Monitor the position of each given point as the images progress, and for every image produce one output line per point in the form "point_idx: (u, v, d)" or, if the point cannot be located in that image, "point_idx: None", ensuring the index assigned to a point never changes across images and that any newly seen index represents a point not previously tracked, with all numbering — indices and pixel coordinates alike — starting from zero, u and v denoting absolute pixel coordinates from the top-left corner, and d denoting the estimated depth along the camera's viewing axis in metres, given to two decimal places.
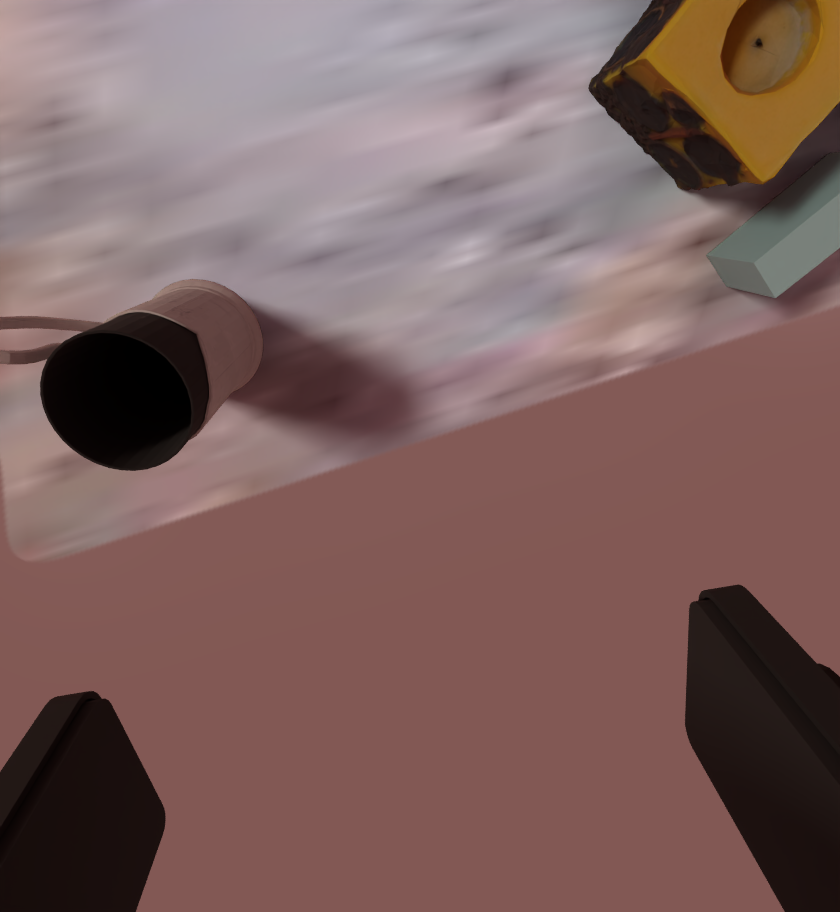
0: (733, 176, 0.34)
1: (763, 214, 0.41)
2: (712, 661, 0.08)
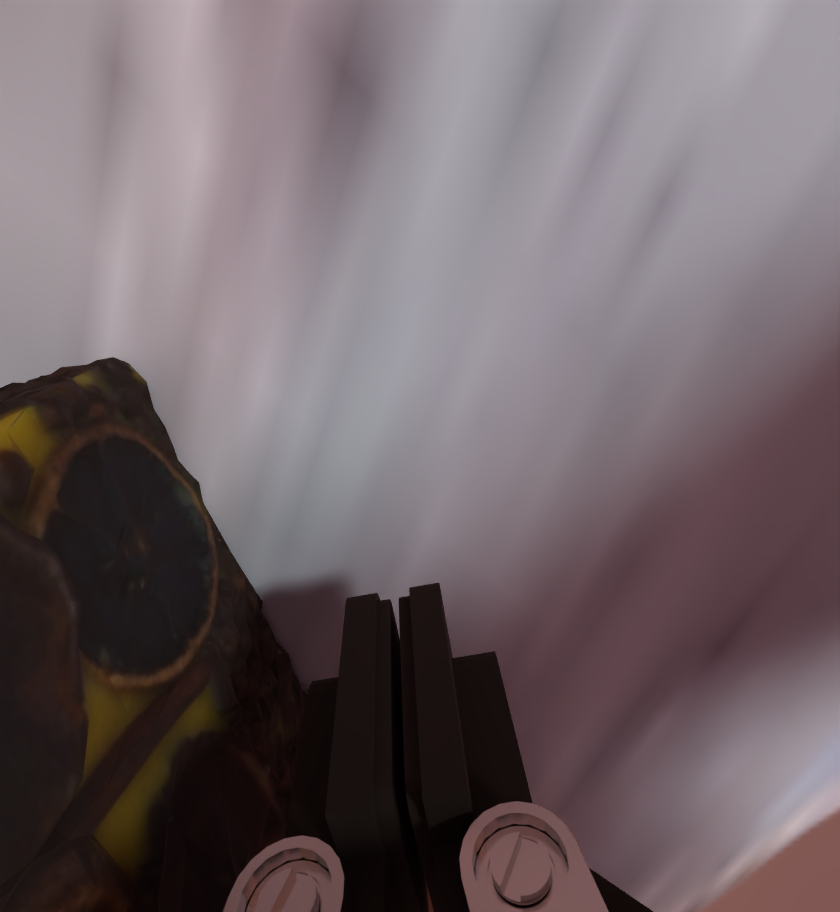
0: None
1: None
2: None
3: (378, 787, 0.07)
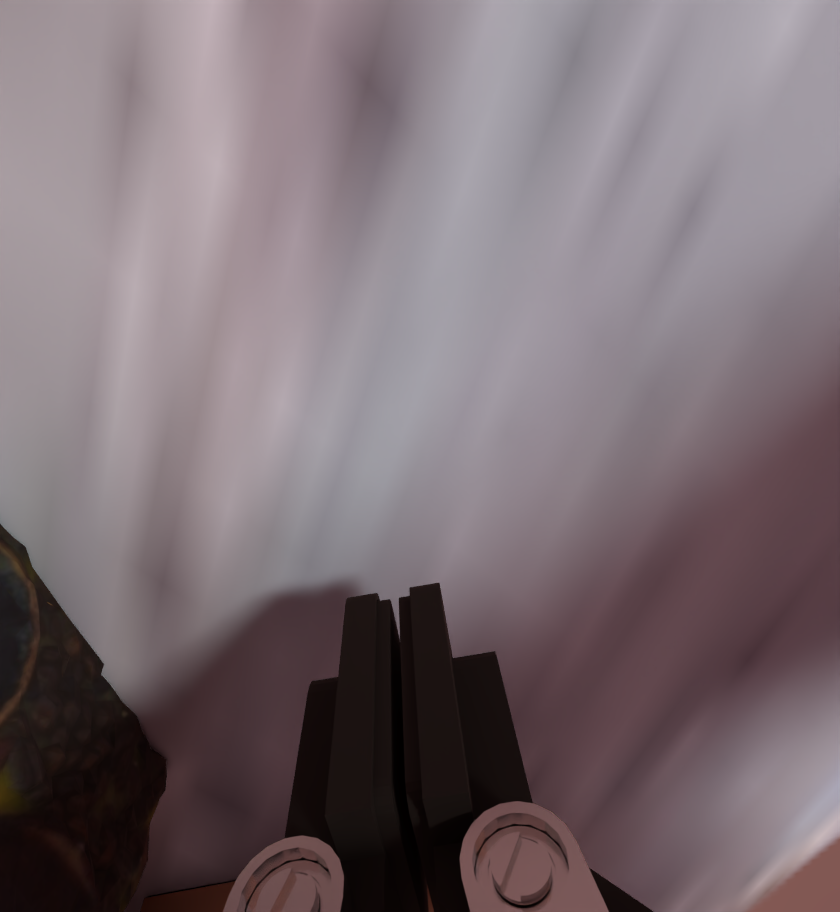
0: None
1: None
2: None
3: (378, 786, 0.07)
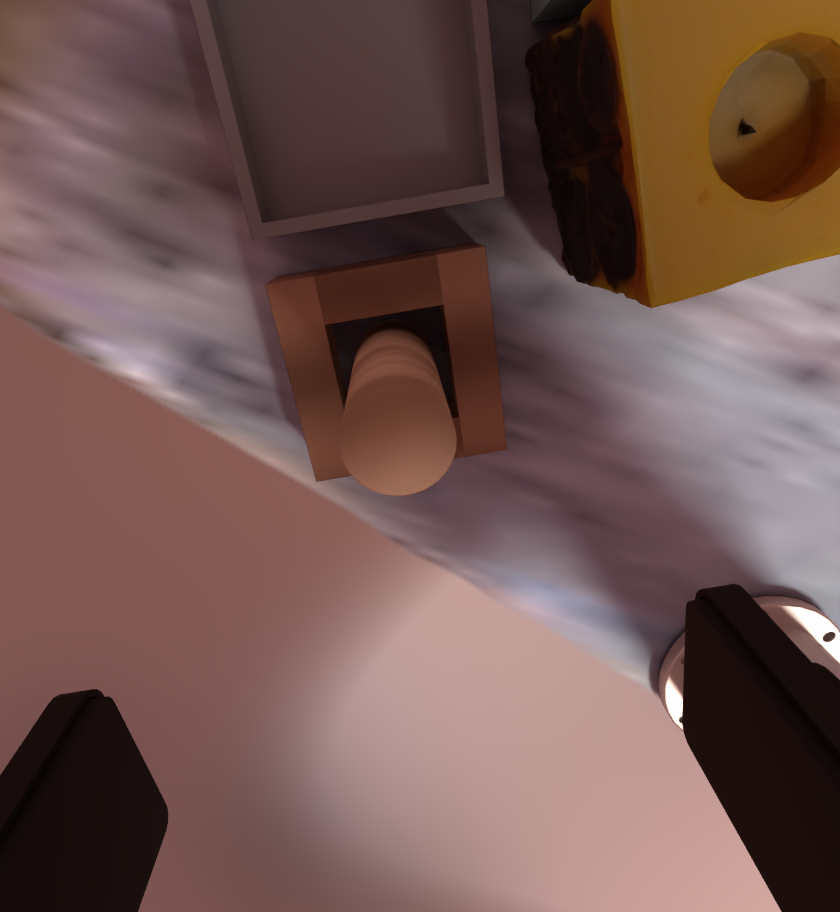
0: None
1: None
2: (708, 659, 0.08)
3: None
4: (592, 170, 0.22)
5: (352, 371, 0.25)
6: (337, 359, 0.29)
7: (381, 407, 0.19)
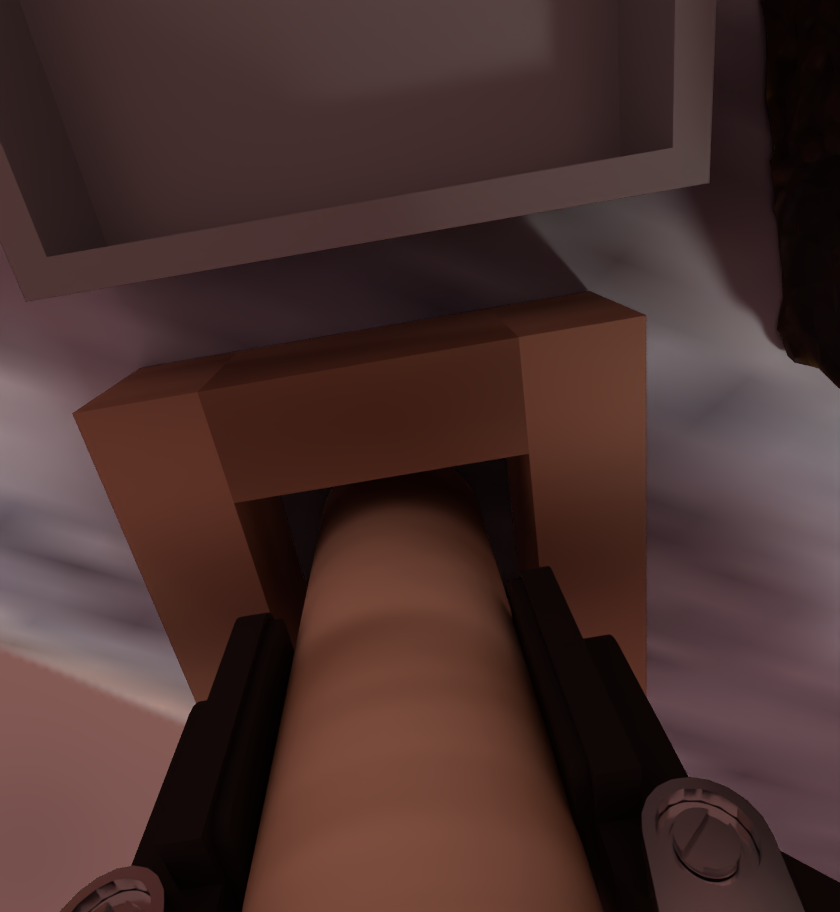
0: None
1: None
2: (519, 632, 0.09)
3: (216, 815, 0.07)
4: None
5: (294, 655, 0.09)
6: (280, 543, 0.14)
7: None
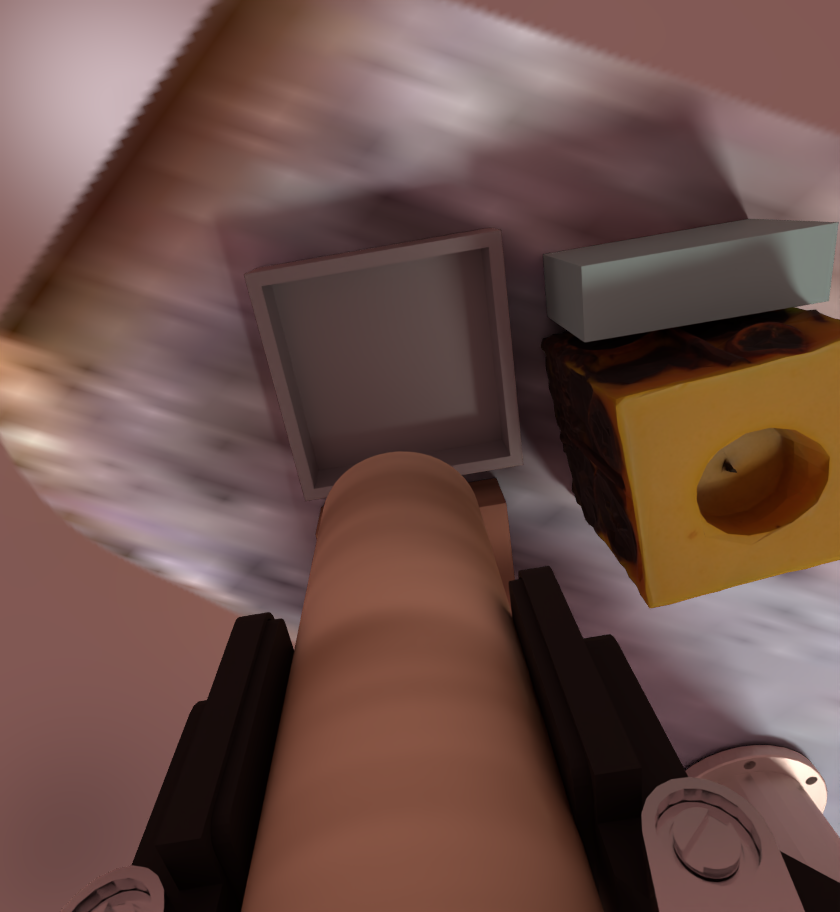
0: None
1: None
2: (519, 632, 0.09)
3: (217, 815, 0.07)
4: (600, 475, 0.26)
5: (294, 655, 0.09)
6: None
7: None
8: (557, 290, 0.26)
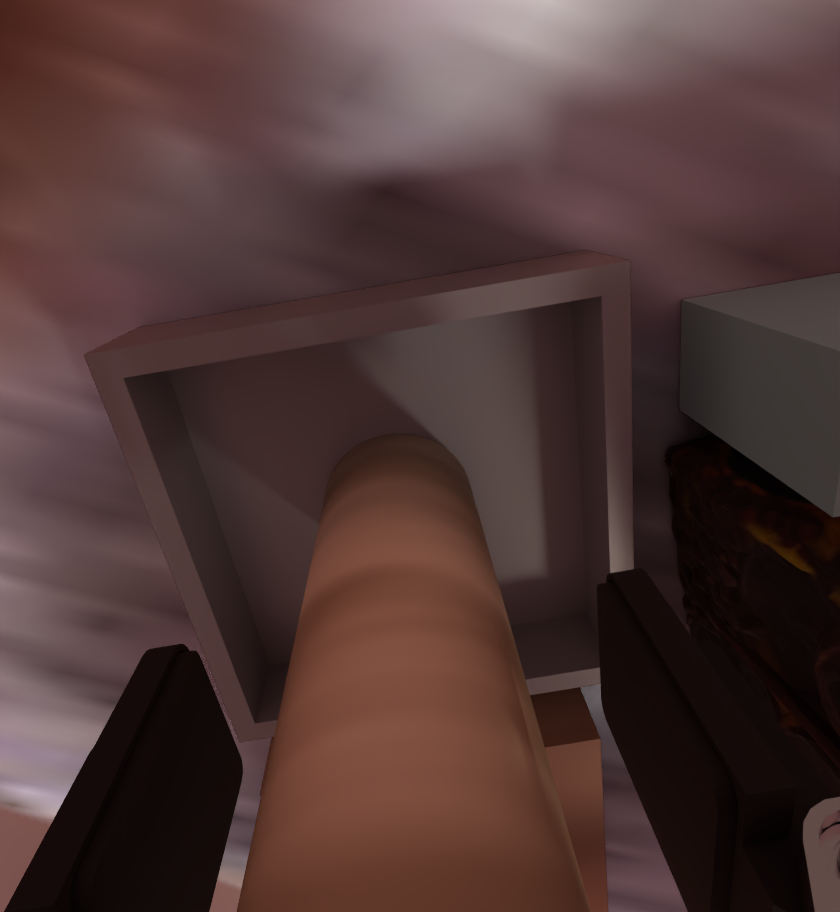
0: None
1: None
2: (613, 638, 0.09)
3: (81, 876, 0.06)
4: (816, 752, 0.13)
5: (302, 606, 0.11)
6: None
7: None
8: (726, 377, 0.13)
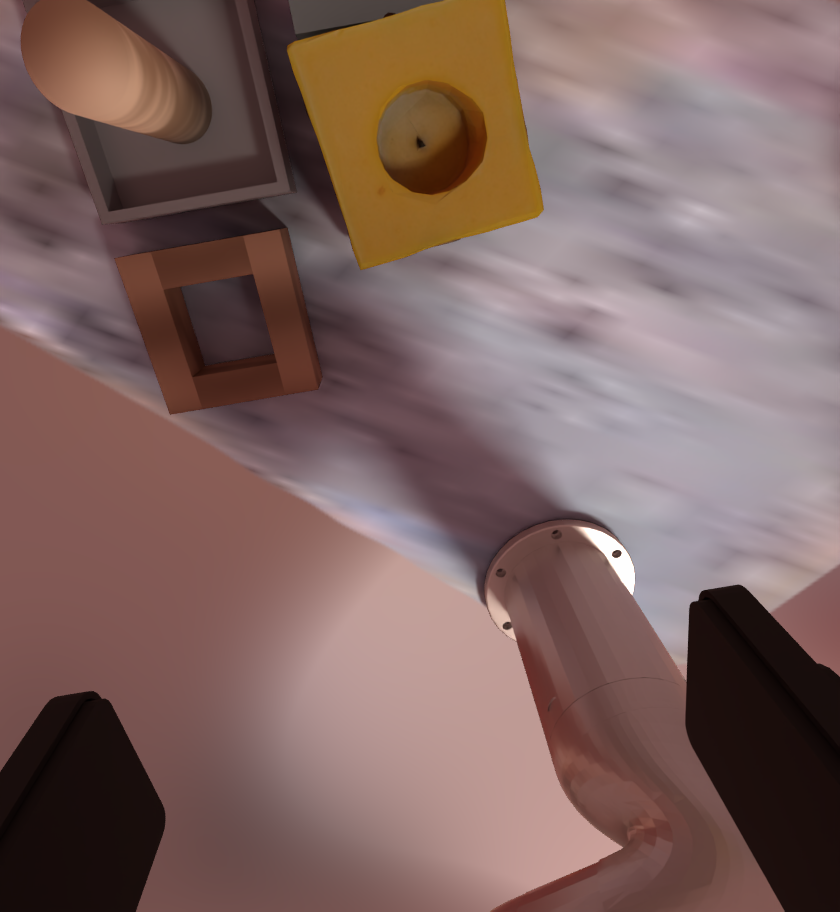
0: None
1: None
2: (712, 661, 0.08)
3: None
4: None
5: None
6: (184, 318, 0.38)
7: (53, 16, 0.22)
8: None
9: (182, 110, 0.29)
